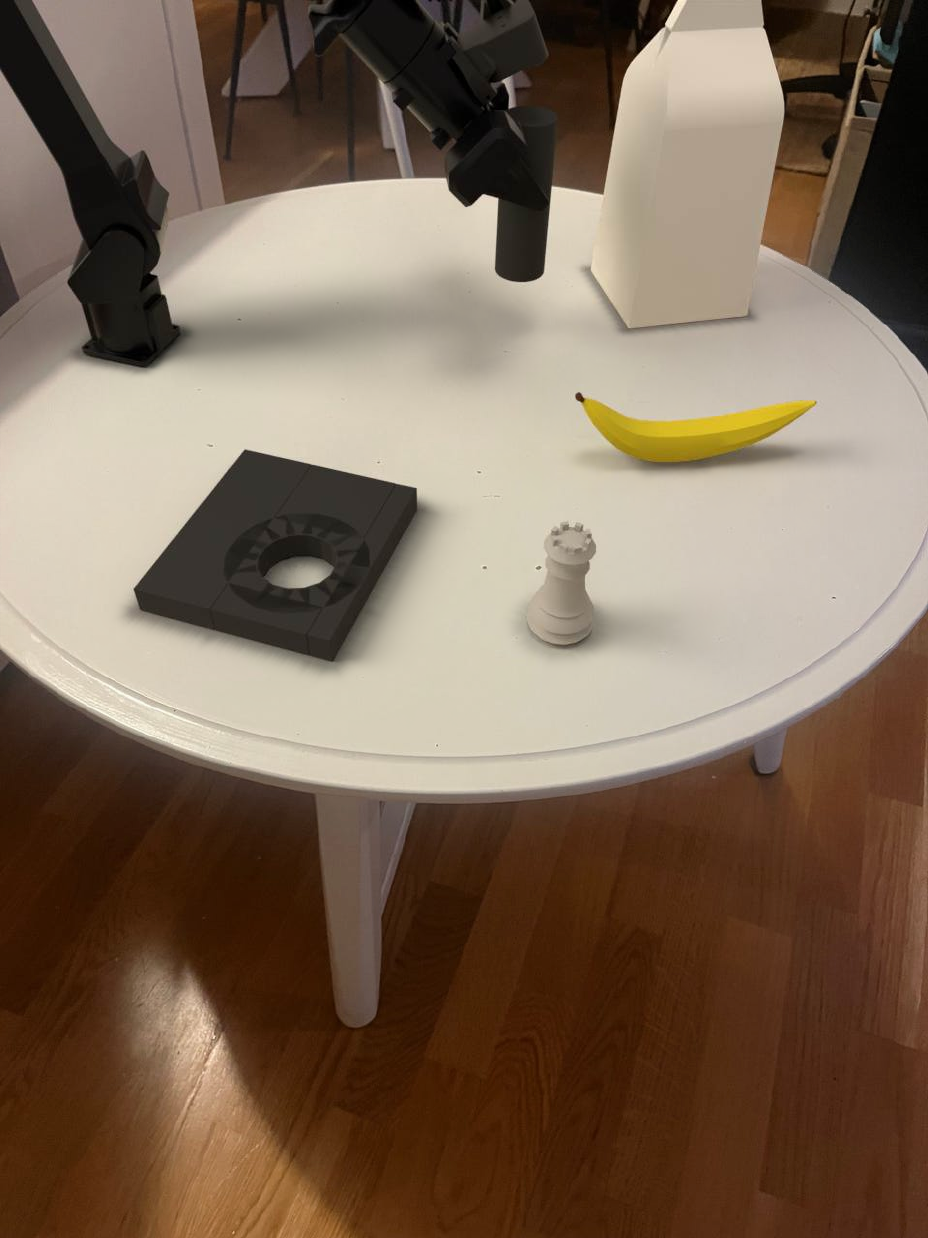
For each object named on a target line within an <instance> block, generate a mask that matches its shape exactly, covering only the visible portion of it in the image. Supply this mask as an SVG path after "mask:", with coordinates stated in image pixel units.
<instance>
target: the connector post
mask: <svg viewBox="0 0 928 1238" xmlns="http://www.w3.org/2000/svg"><path fill="white" fill-rule="evenodd" d="M505 112H506V113H507V114H508V115H509V116H510V117H511V118H512V119H513V121H514V122H515V123H516V122H517V121H519V123H520V125H521V128H522V131H523V134H524V139H525V142H526V144H527V148H526V150H525V151H524V153H523V155H522V157H523V159H524V160H525V162H526V164H527V165H528V167H529V169H530V170H531V172H532V173H533V175H534V177H535V178H536V180H537V182H538V183H539V185H540V186H541V188H542V190H543V191H544V193H545V195H546V196H547V198H548V200H549V202H550V203H549V205H548V206H547V207H546V208H545V209H544V210H543V211H542V212H537V211H535V210H532V209H529V208H526V207H523V206H520V205H517V204H514V203H511V202H508V201H505V200H502V199H498V198H497V217H496V237H495V255H494V256H495V257H494V272H495V274H496V275H497V276H498V277H500V278H502V279H503V280H505V281H509V282H513V283H529V282H533V281H536V280H539V279H540V278H541V277H543V275H544V273H545V268H546V267H545V266H546V255H547V245H548V231H549V224H550V223H549V221H550V210H551V199H552V188H553V179H554V178H553V177H554V168H555V167H554V165H555V157H556V156H555V153H556V145H557V144H556V143H557V133H558V121H559V117H558V114H557V113H556V112H554V111H553V110H551V109H549V108H546V107H544V106H543V107H542V106H536V105H518V106H513V107H509V109H507V110H506V111H505Z"/></svg>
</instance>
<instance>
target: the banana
mask: <svg viewBox="0 0 928 1238" xmlns="http://www.w3.org/2000/svg"><path fill="white" fill-rule="evenodd" d="M574 397H575V400H576V401H577V402H580V404H581V406H582V408H583V411H584V413H585V414H586V416H587V417H588V419H589V420H590V422H591V423H592V425H593V426H594V427H595V428H596V429H597V431H598V432H599V433H600V434H601V435H602V436H603V437H604V439H605V440H606V441H607V442H608V443H610V444H611V445H612V446H613V447H614V448H616V449H617V450H619V451H620V452H621V453H624V454H625V455H627V456H629V457H633V458H635V459H637V460H642V461H647V462H654V463H679V462H689V461H690V462H691V461H696V460H702V459H707V458H712V457H715V456H719V455H723V454H727V453H732V452H734V451H737V450H741V449H743V448H746V447H749V446H752V445H755V444H756V443H760V442H761V441H762V440H765V439H767V438H769V437H771V436H772V435H774V434H776V433H778V432H779V431H780V430H781V431H782V429H784V428H785V427H787V426H788V425H790V424H792V423H794V421H796V420H798V419H799V418H800V417H801V416H803V415H805V414H806V413H807V412H808V411H809V410H811V409H812V408H813V407H815V406H816V405H817V400H814V399H812V400H804V399H803V400H795V401H789V402H782V403H776V404H772V405H771V404H770V405H767V406H762V407H761V406H760V407H757V408H753V409H748V410H743V411H742V410H741V411H738V412H733V413H727V414H721V415H714V416H708V417H706V416H705V417H699V418H691V419H677V420H645V419H637V418H633V417H629V416H627V415H625V414H622V413H620V412H618V411H616V410H614V409H613V408H611V407H609V406H608V405H606V404H605V403H602V402H600V401H598V400H596V399H592V398H586V397H584V396H583V394H582V393H581V392H579V391H578V392H576V393H575V395H574Z"/></svg>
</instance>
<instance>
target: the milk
mask: <svg viewBox="0 0 928 1238" xmlns="http://www.w3.org/2000/svg"><path fill="white" fill-rule="evenodd" d="M764 22H765V21H764V13H763V5H762V0H677V1H676V2H675V4H674V6H673V9H672V11H671V13H670V14H669V16H668V17H667V20H666V22H665V24H664V25H665V26H664V27H662V28H661V29H660V30H659V31H658V32H657V34H655V36H653V38H652V39H651V40H650V41H649V42H648V43H647V45H645V47H643V49H642V50H641V51H640V52H639V53H638V54H637V55H636V57H634V58H633V60H632V61H631V63H630V64H629V66H628V67H627V69H626V72H625V74H624V76H623V80H622V85H621V89H620V95H619V96H620V97H619V101H618V108H617V113H616V120H615V125H614V131H613V137H612V143H611V148H610V154H609V160H608V167H607V171H606V178H605V184H604V190H603V195H602V202H601V206H600V207H601V208H600V213H599V218H598V223H597V224H598V225H597V231H596V236H595V242H594V248H593V254H592V259H591V266H590V272H591V273H592V275H593V276H594V279H596V281H597V283H598V285H600V287H601V289H602V290H603V292H604V293H605V295H606V296H607V298H608V299H609V301H610V302H611V304H612V305H613V307H614V308H615V310H616V312H617V313H618V315H619V316H620V318H621V320H622V321H623V322H624V324H625V325H626V327H627V328H628V329H637V328H647V327H655V326H657V327H658V326H665V325H676V324H684V323H694V322H702V321H703V322H704V321H714V320H723V319H731V318H741V317H742V318H744V317H748V313H749V309H750V303H751V297H752V291H753V286H754V281H755V275H756V271H757V270H756V269H757V264H758V261H759V253H760V248H761V244H762V243H761V242H762V238H763V234H764V227H765V223H766V216H767V212H768V211H767V210H768V207H769V202H770V201H769V200H770V196H771V190H772V184H773V179H774V174H775V168H776V164H777V163H776V162H777V157H778V152H779V147H780V141H781V137H782V130H783V125H784V119H785V100H784V93H783V88H782V84H781V81H780V78H779V73H778V71H777V67H776V64H775V60H774V56H773V52H772V49H771V46H770V43H769V38H768V35H767V32H766V29H765V28H764V26H765V23H764Z"/></svg>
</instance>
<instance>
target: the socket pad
mask: <svg viewBox="0 0 928 1238" xmlns="http://www.w3.org/2000/svg"><path fill="white" fill-rule="evenodd" d="M417 510H418V488H417V487H413V486H409V485H405V484H400V483H396V482H392V481H388V480H383V479H378V478H374V477H369V476H366V475H361V474H357V473H352V472H348V471H343V470H339V469H334V468H329V467H326V466H321V465H316V464H312V463H307V462H303V461H298V460H294V459H291V458H286V457H281V456H278V455H272V454H267V453H263V452H259V451H256V450H255V451H254V450H250V449H243V451H242V452H241V453H240V455H239V456H238V457H237V458H236V460H235V461H234V462H233V463H232V464H231V465H230V467H229V468H228V469H227V471H226V472H224V474H223V476H222V477H221V478H220V480H219V481H218V482H217V483H216V484H215V486H214V487H213V488H212V490H211V491H210V492H209V493H208V495H207V496H206V497H205V499H204V500H203V501H202V502H201V503H200V504H199V506H198V507H197V508H196V510H195V511H194V512H193V513H192V515H191V516H190V517H189V518H188V520H187V521H186V522H185V524H184V525H183V526H182V527H181V529H180V530H179V531H178V532H177V534H176V535H175V536H174V537H173V539H172V540H171V541H170V542H169V544H168V545H167V546H166V547H165V549H164V550H163V551H162V553H161V554H160V555H159V556H158V557H157V558H156V560H155V561H154V563H152V565H151V566H150V568H149V569H148V570H147V571H146V573H145V574H144V575H143V576H142V578H140V580H139V581H138V583H136V585H135V586H134V587H133V592H134V596H135V598H136V601H137V604H138V607H139V610H141V611H142V612H143V611H144V612H147V613H150V614H153V615H158V616H162V617H165V618H169V619H173V620H177V621H181V622H184V623H188V624H192V625H195V626H198V627H202V628H206V629H211V630H215V631H218V632H221V633H225V634H229V635H233V636H236V637H240V638H244V639H248V640H251V641H256V642H259V643H263V644H266V645H270V646H274V647H278V648H282V649H285V650H289V651H292V652H295V653H300V654H303V655H308V656H312V657H314V658H315V657H316V658H319V659H323V660H327V661H331V662H333V661H334V659H335V658H336V655H337V654H338V652H339V650H340V648H341V647H342V645H343V643H344V641H345V639H346V638H347V635H348V634H349V632H350V630H351V628H352V627H353V625H354V623H355V621H356V619H357V618H358V616H359V614H360V612H361V610H362V609H363V607H364V605H365V603H366V602H367V600H368V598H369V597H370V594H371V593H372V591H373V589H374V588H375V585H376V583H377V582H378V580H379V578H380V576H381V574H382V573H383V571H384V569H385V567H386V566H387V564H388V562H389V560H390V559H391V557H392V555H393V553H394V551H395V549H396V547H397V546H398V545H399V542H400V540H401V539H402V537H403V535H404V533H405V531H406V530H407V528H408V526H409V524H410V522H411V521H412V519H413V517H414V515H415V513H416V511H417ZM301 556H303V557H304V556H310V557H313V558H318V559H320V560H321V559H322V560H324V561H325V562H327V563H328V564H330V565H331V566H332V567H333V570H332V571H331V573H330V574H329V575H328V576H326V577H325V578H324V579H322V580H321V581H320V582H317V583H314V584H311V585H308V586H305V587H290V588H289V587H284V586H280V585H276V584H273V583H271V581H268V580H267V579H266V578H264V576H265V575H266V573H267V572H268V571H269V569H270V568H272V567H273V566H275V565H276V564H278V563H279V562H280V561H283V560H286V559H289V558H292V557H301Z"/></svg>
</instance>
